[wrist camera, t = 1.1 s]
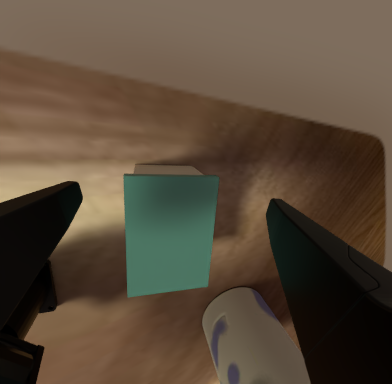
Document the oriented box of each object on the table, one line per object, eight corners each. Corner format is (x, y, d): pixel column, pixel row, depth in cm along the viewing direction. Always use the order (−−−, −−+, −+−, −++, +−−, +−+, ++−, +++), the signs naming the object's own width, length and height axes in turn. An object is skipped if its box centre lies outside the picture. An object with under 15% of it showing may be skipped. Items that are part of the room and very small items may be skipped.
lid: (201, 272, 21) (207, 286, 19) (129, 280, 19) (127, 297, 17) (211, 172, 18) (219, 177, 16) (125, 170, 16) (123, 176, 14)
